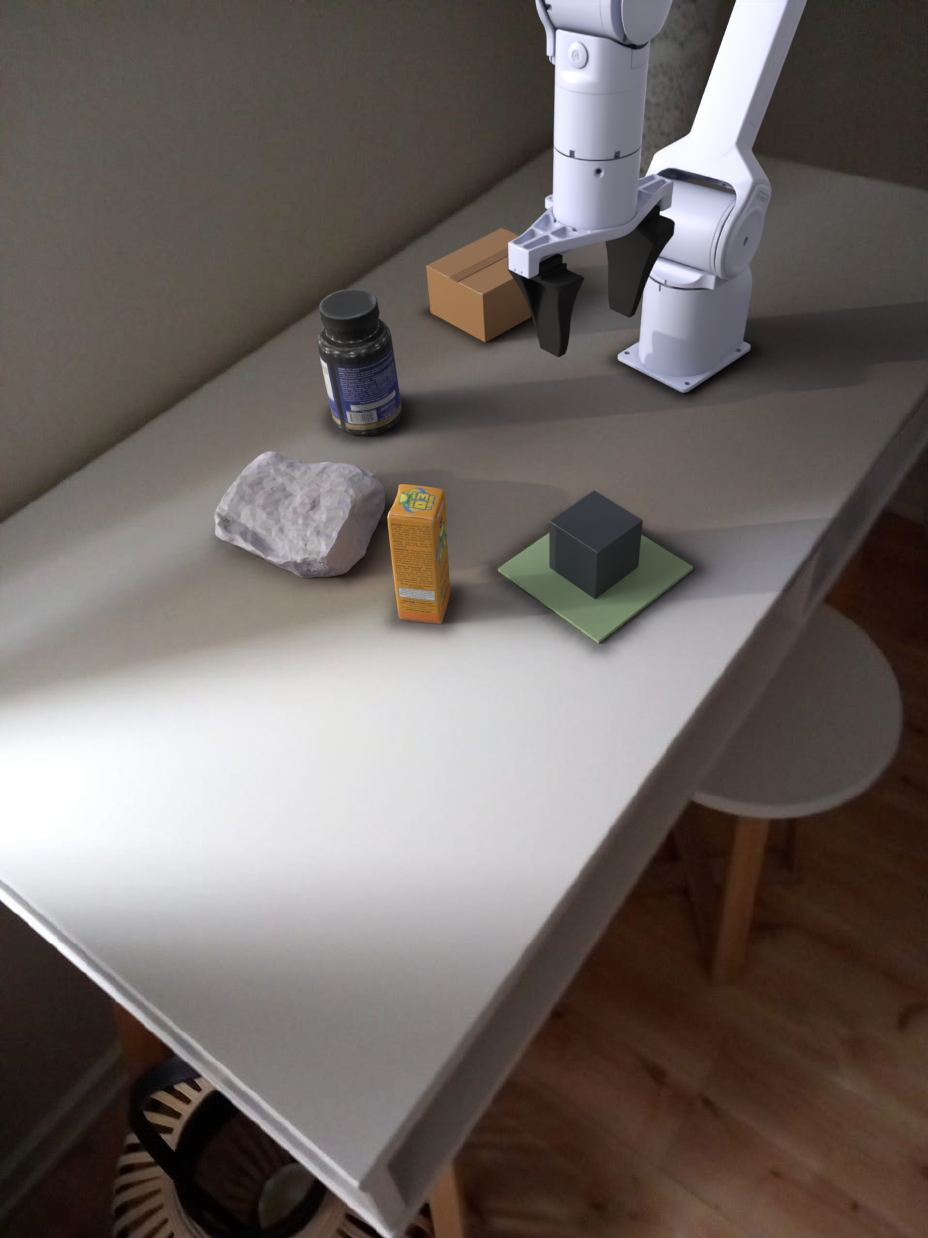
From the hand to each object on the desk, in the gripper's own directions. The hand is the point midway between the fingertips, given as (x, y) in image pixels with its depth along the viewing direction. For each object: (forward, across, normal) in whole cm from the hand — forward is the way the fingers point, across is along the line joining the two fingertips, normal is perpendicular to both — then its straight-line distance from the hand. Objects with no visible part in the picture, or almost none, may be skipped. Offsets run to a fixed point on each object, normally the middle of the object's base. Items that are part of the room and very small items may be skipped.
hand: (588, 330), depth 73 cm
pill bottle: (+11, +10, -16) cm, 22 cm away
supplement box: (+11, +21, +5) cm, 24 cm away
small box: (+10, +10, +11) cm, 18 cm away
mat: (+11, +10, +11) cm, 18 cm away
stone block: (+11, +23, -8) cm, 27 cm away
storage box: (+10, -10, -21) cm, 25 cm away
